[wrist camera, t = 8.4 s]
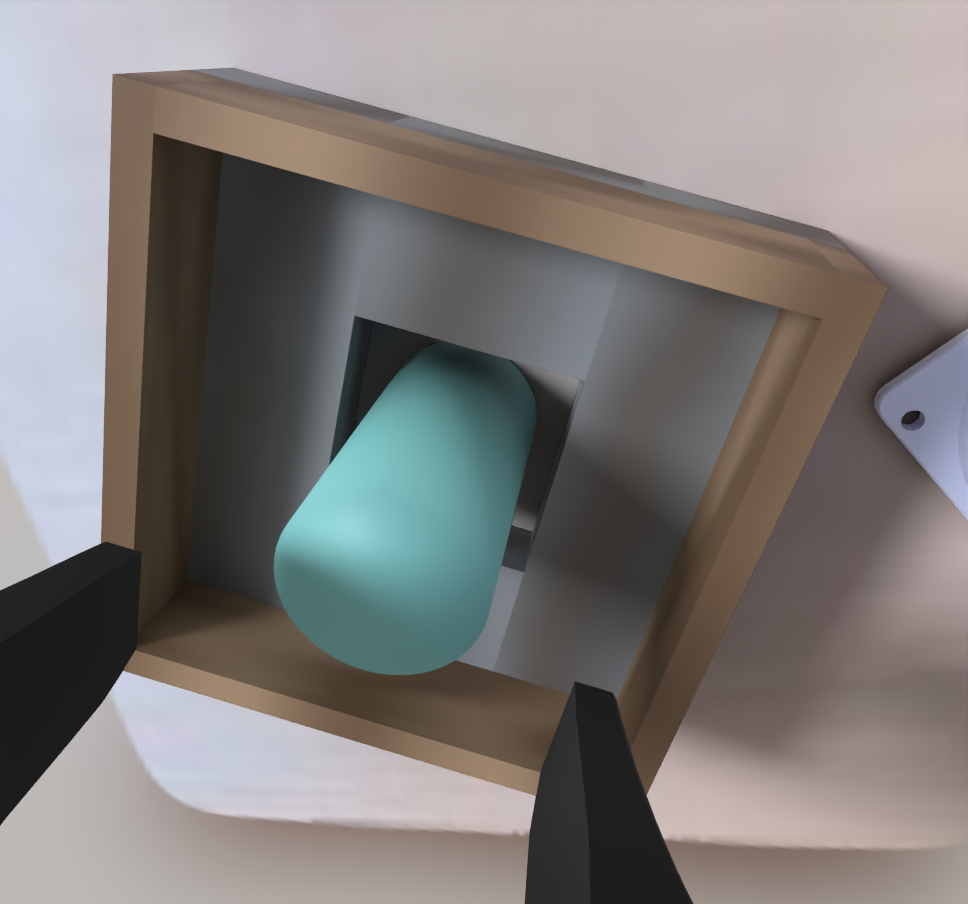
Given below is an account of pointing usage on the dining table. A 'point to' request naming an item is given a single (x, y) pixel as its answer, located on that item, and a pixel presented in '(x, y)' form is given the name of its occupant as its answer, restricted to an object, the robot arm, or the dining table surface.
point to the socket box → (466, 322)
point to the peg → (412, 516)
